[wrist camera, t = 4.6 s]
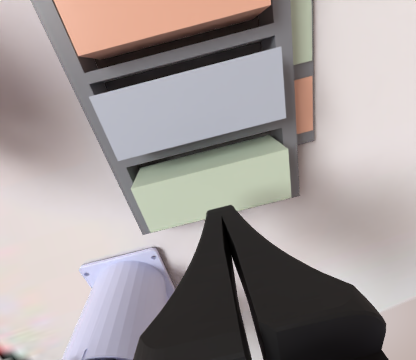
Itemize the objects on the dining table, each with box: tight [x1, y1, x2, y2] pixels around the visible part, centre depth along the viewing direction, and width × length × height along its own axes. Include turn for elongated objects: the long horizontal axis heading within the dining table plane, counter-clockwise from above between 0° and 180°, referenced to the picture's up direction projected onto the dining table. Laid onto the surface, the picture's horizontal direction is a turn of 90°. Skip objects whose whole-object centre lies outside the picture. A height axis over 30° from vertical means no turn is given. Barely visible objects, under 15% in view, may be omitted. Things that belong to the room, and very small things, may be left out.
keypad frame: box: [31, 0, 300, 235], centre depth 15 cm, size 18×13×3 cm
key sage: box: [131, 135, 292, 233], centre depth 16 cm, size 4×10×3 cm, turn 103°
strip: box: [290, 0, 314, 145], centre depth 16 cm, size 11×2×1 cm, turn 13°
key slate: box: [89, 47, 286, 161], centre depth 13 cm, size 4×10×3 cm, turn 103°
